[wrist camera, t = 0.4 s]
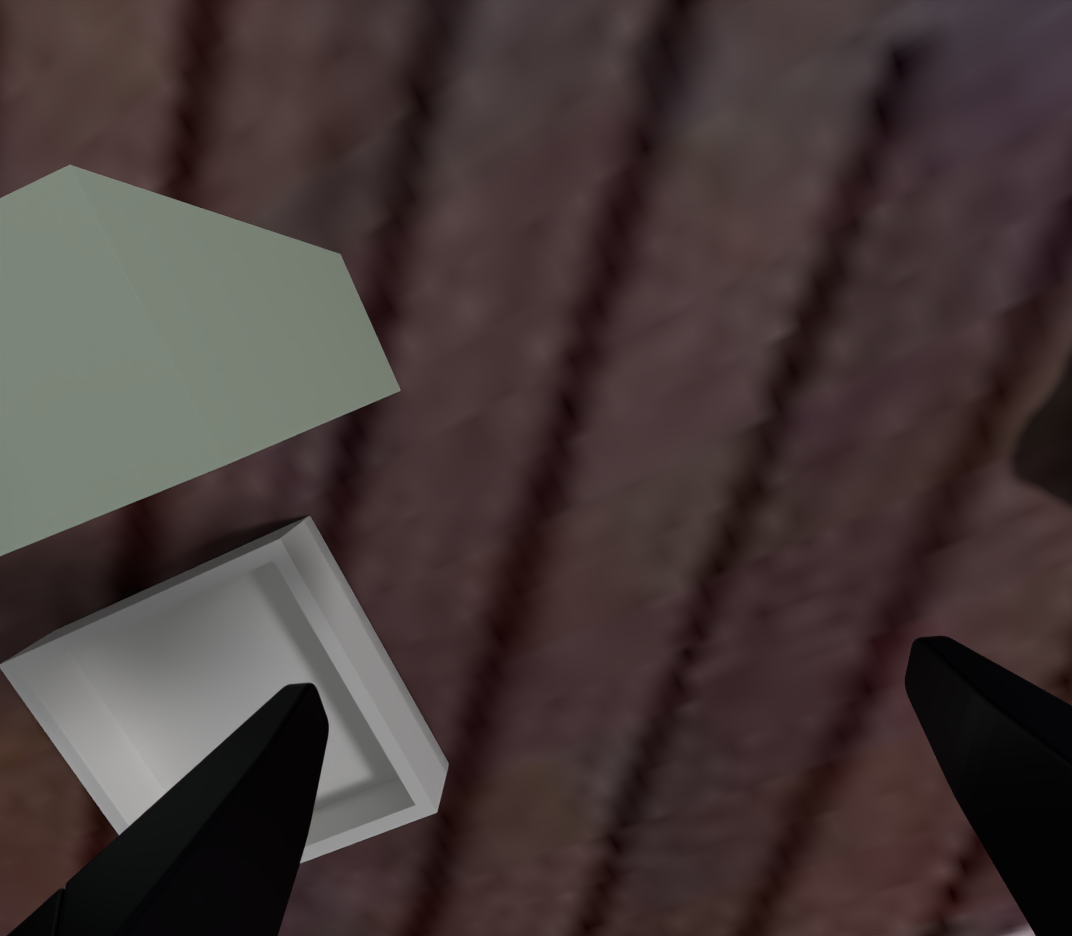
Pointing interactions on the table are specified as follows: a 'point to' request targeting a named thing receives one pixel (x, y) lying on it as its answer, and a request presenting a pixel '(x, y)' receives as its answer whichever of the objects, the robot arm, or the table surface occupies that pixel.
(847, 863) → the table surface
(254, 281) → the handle block
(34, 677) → the tray
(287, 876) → the robot arm
